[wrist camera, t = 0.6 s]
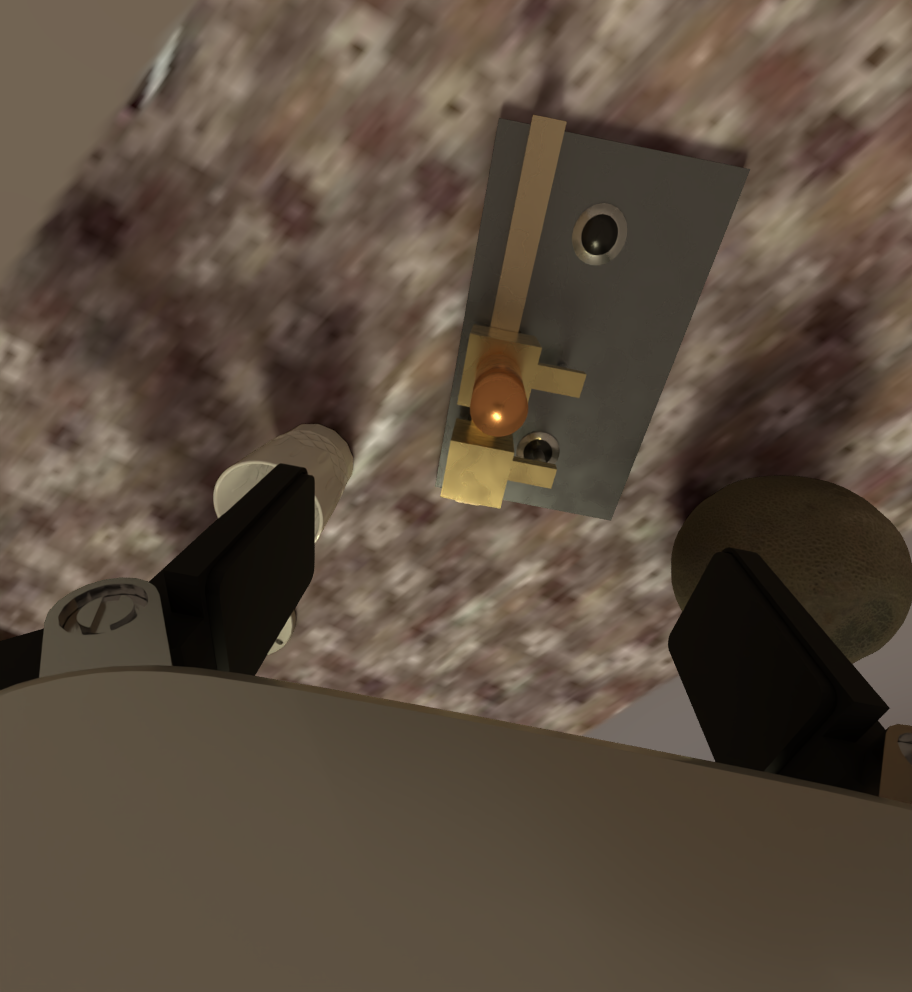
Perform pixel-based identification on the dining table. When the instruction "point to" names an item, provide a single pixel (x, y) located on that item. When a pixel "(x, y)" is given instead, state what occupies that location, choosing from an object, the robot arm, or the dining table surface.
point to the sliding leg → (508, 379)
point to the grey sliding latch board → (583, 306)
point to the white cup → (298, 448)
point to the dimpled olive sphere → (807, 553)
